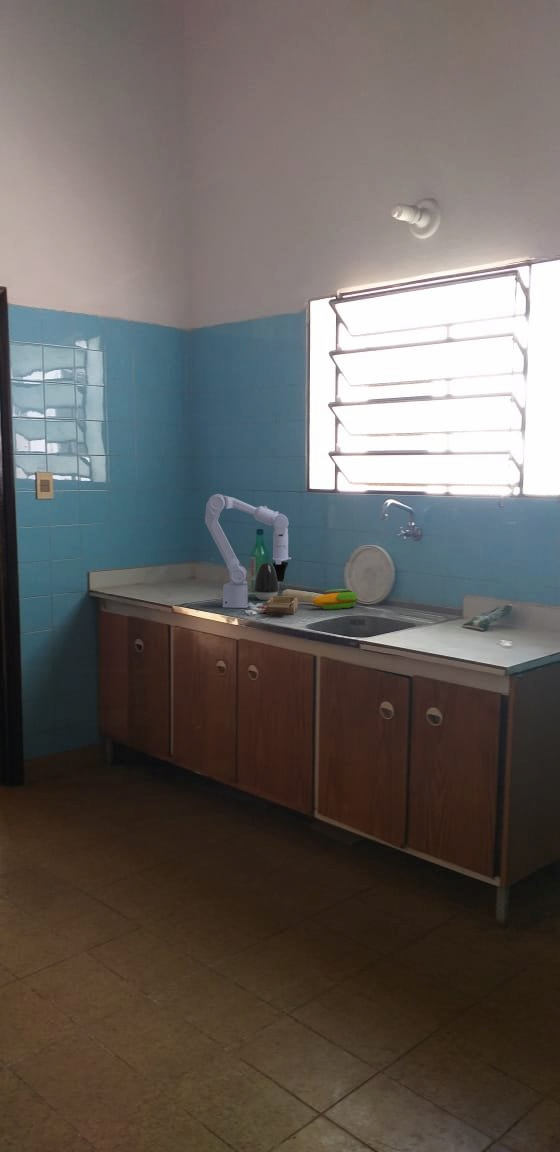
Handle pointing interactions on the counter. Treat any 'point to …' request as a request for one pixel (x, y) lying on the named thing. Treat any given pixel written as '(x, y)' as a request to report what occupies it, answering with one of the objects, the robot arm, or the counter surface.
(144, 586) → the counter surface
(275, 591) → the dark grey egg shape
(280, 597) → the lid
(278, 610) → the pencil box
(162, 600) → the counter surface
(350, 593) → the corn
